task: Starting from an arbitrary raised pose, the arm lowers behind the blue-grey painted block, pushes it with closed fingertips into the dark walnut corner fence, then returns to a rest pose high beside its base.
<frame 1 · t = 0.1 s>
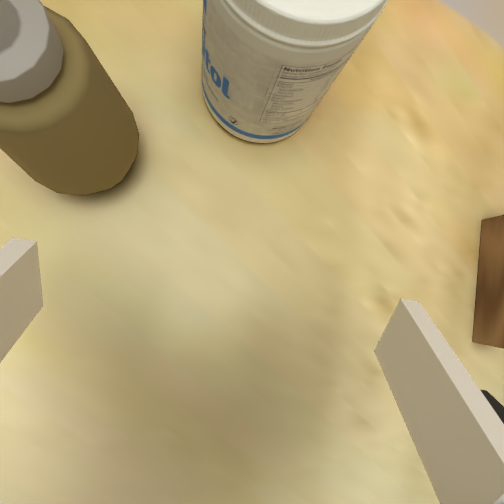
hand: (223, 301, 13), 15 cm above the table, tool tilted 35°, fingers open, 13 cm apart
squeeze bottle: (94, 157, 28), on the table
supplement tub: (258, 94, 31), on the table
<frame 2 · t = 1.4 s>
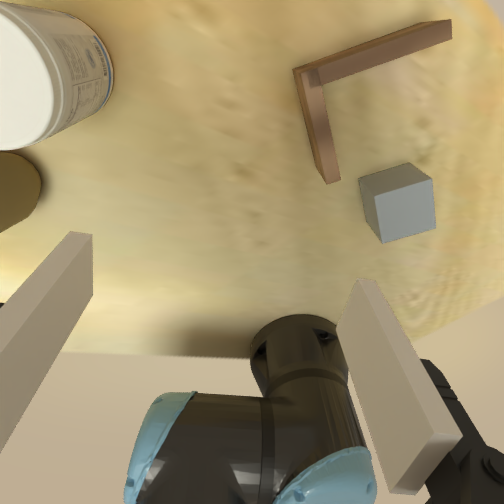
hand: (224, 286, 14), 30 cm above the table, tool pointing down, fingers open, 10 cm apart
squeeze bottle: (16, 176, 42), on the table
corner fence: (358, 53, 37), on the table
grey block: (386, 192, 44), on the table
supplement tub: (69, 67, 37), on the table
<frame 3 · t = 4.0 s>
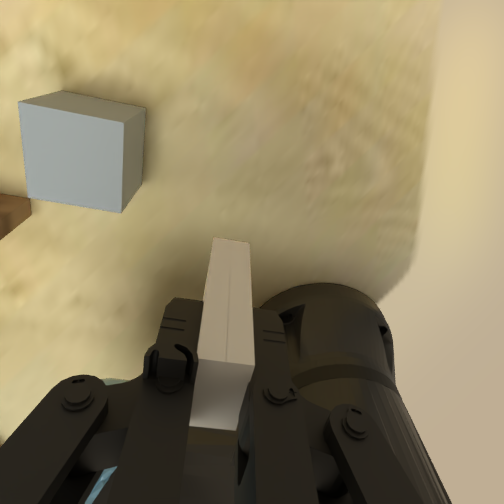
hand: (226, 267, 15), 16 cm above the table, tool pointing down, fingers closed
grey block: (104, 140, 28), on the table
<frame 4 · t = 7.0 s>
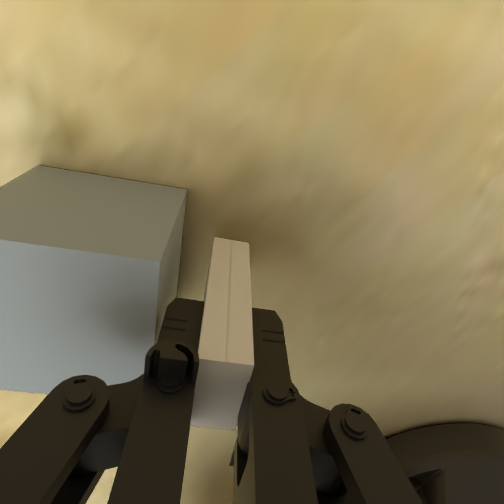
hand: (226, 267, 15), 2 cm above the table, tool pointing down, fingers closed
grey block: (114, 240, 16), on the table, touching gripper
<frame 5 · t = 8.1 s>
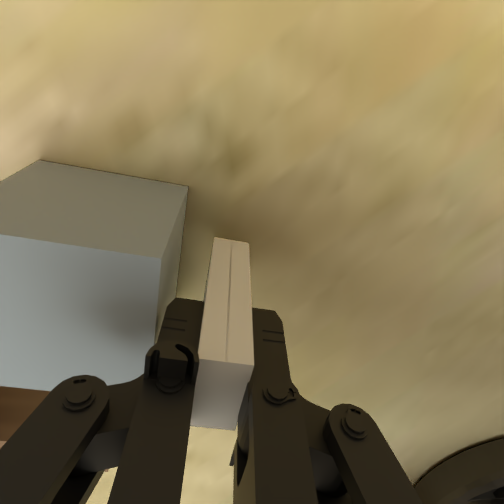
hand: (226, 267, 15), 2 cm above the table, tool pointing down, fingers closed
grey block: (114, 237, 16), on the table, touching gripper
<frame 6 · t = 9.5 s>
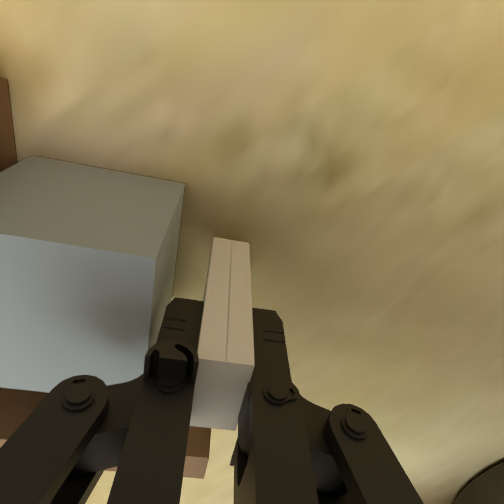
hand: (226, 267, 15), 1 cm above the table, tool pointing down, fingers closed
corner fence: (7, 231, 16), on the table
grey block: (109, 234, 16), on the table, touching gripper
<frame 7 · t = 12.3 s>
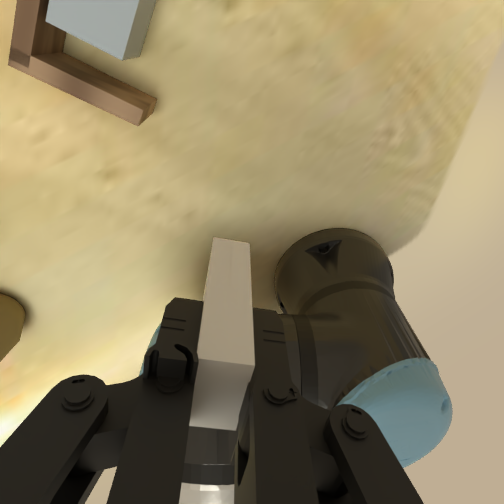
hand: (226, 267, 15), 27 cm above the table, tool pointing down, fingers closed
squeeze bottle: (4, 308, 50), on the table
grey block: (117, 5, 32), on the table
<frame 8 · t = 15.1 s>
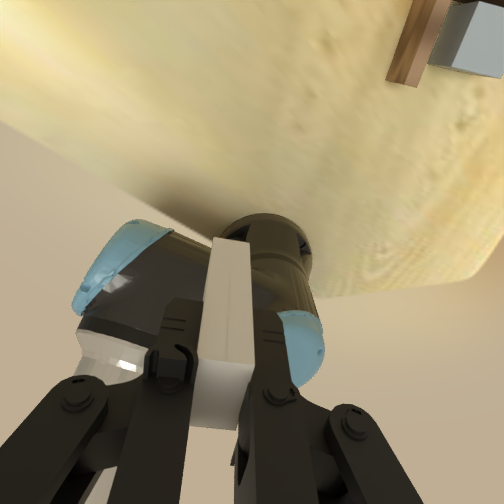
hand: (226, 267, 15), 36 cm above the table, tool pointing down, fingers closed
grey block: (460, 41, 43), on the table
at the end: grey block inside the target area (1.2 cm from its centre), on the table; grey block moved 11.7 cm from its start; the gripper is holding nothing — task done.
